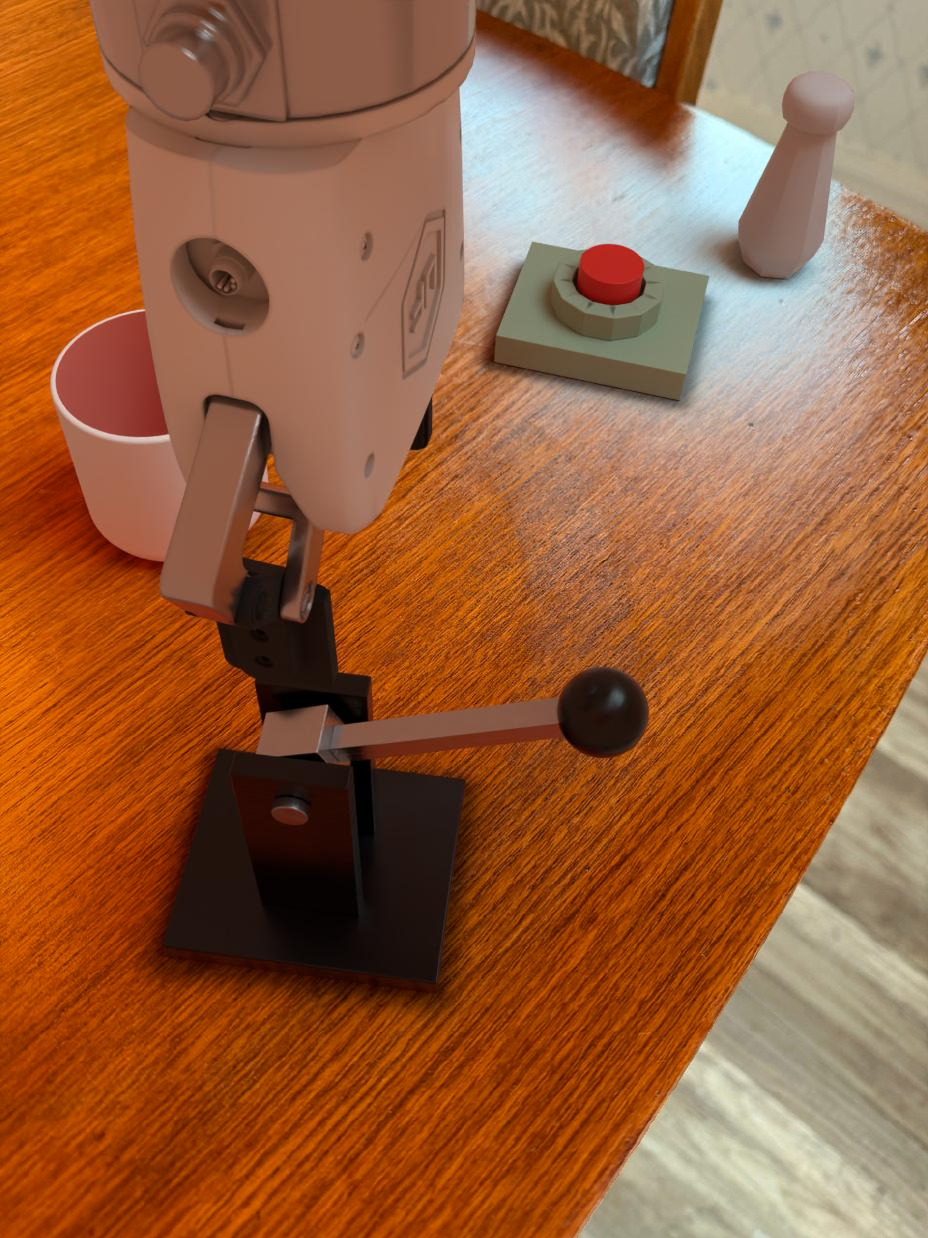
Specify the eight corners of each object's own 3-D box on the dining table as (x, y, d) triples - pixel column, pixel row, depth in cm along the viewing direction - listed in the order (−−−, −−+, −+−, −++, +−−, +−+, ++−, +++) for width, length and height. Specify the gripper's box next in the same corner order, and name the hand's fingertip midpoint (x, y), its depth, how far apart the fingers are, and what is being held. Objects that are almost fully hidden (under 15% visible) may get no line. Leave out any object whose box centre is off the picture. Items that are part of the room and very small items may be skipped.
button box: (702, 302, 81) (715, 252, 77) (679, 400, 75) (691, 351, 72) (529, 268, 82) (534, 217, 79) (493, 362, 76) (497, 311, 73)
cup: (93, 584, 65) (48, 452, 57) (91, 452, 70) (49, 316, 62) (279, 560, 66) (261, 428, 58) (261, 433, 72) (243, 297, 64)
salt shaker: (722, 275, 82) (767, 96, 72) (738, 227, 86) (783, 50, 75) (807, 294, 82) (865, 116, 71) (820, 246, 85) (877, 68, 74)
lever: (661, 694, 43) (635, 642, 41) (658, 770, 41) (631, 721, 39) (303, 737, 49) (263, 695, 47) (286, 807, 47) (244, 766, 45)
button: (645, 273, 77) (649, 250, 75) (634, 312, 74) (638, 288, 73) (583, 261, 77) (587, 238, 76) (571, 299, 75) (574, 276, 73)
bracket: (465, 790, 58) (476, 635, 48) (437, 993, 52) (443, 866, 42) (221, 759, 58) (180, 599, 48) (165, 957, 53) (105, 822, 42)
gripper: (324, 276, 18) (369, 817, 31) (565, -175, 28) (519, 384, 42) (-133, 190, 19) (103, 751, 32) (259, -215, 29) (313, 343, 43)
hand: (337, 544), depth 37 cm, fingers open, 9 cm apart
